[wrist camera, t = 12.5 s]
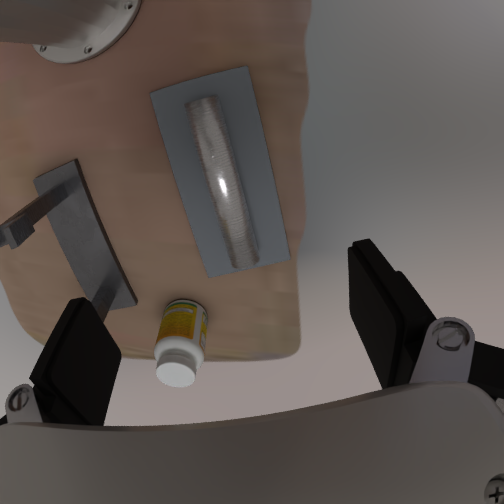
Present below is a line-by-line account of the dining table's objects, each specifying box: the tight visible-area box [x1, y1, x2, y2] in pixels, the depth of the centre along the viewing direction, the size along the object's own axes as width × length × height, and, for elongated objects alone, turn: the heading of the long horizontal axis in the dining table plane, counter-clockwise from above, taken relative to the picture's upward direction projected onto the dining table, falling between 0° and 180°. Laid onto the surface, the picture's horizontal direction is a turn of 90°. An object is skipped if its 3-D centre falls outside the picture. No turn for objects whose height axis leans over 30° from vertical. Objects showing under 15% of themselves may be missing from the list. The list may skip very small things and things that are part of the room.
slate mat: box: [150, 66, 291, 278], centre depth 29 cm, size 20×9×1 cm, turn 13°
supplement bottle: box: [154, 300, 208, 387], centre depth 33 cm, size 5×5×10 cm
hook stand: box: [0, 159, 138, 322], centre depth 26 cm, size 18×6×13 cm, turn 13°
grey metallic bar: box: [183, 95, 260, 269], centre depth 28 cm, size 16×3×3 cm, turn 13°
